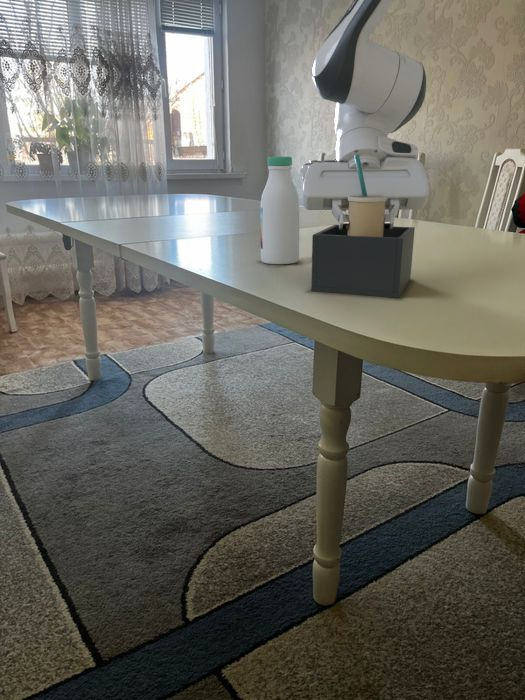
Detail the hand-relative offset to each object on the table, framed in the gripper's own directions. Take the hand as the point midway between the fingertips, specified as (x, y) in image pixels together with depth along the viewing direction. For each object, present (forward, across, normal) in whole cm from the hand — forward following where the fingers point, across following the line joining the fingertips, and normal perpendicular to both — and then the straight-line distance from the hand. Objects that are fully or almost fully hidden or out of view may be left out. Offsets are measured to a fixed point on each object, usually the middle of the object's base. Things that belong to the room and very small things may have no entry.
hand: (366, 227), depth 85 cm
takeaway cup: (+3, 0, +4) cm, 5 cm away
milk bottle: (-8, -14, +22) cm, 27 cm away
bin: (+6, 0, +7) cm, 9 cm away
